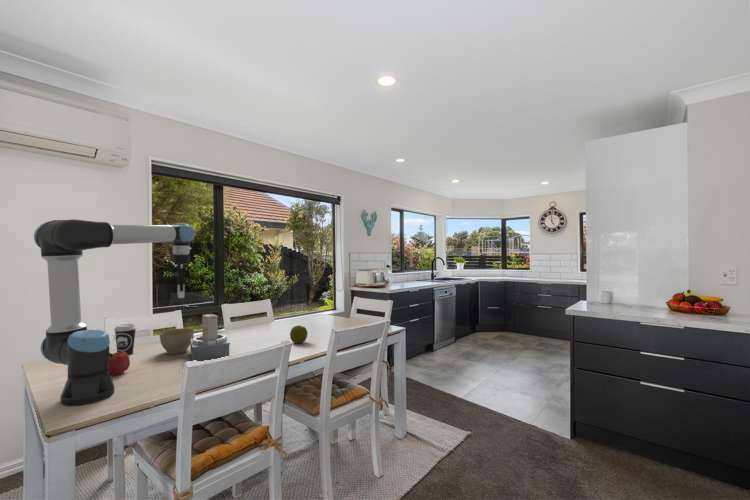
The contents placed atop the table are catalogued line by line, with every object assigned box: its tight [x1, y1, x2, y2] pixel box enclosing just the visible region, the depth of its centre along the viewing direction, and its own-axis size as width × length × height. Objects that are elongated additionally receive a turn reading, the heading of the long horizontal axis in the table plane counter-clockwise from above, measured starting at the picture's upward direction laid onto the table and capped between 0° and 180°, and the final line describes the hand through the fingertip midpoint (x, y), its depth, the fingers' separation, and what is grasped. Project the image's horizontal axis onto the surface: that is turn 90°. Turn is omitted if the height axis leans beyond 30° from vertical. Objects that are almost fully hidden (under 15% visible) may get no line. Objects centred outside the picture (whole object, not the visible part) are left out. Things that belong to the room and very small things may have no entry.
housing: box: [189, 333, 231, 361], centre depth 176 cm, size 21×17×10 cm
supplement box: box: [201, 313, 219, 340], centre depth 175 cm, size 8×5×13 cm, turn 46°
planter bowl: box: [158, 327, 195, 355], centre depth 184 cm, size 16×16×11 cm
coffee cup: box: [113, 323, 137, 356], centre depth 179 cm, size 10×10×15 cm
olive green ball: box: [289, 325, 309, 344], centre depth 204 cm, size 10×10×11 cm
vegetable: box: [109, 351, 131, 376], centre depth 150 cm, size 11×10×10 cm
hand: (180, 296), depth 174 cm, fingers open, 13 cm apart
